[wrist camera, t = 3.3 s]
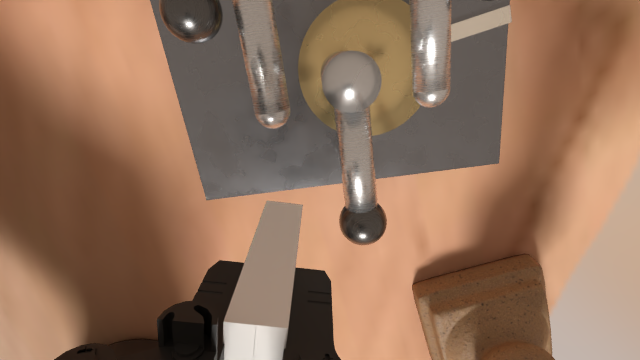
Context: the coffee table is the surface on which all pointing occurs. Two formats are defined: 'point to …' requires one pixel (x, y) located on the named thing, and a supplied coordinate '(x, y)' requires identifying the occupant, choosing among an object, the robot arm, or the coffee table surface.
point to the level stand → (308, 130)
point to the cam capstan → (340, 76)
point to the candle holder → (487, 312)
